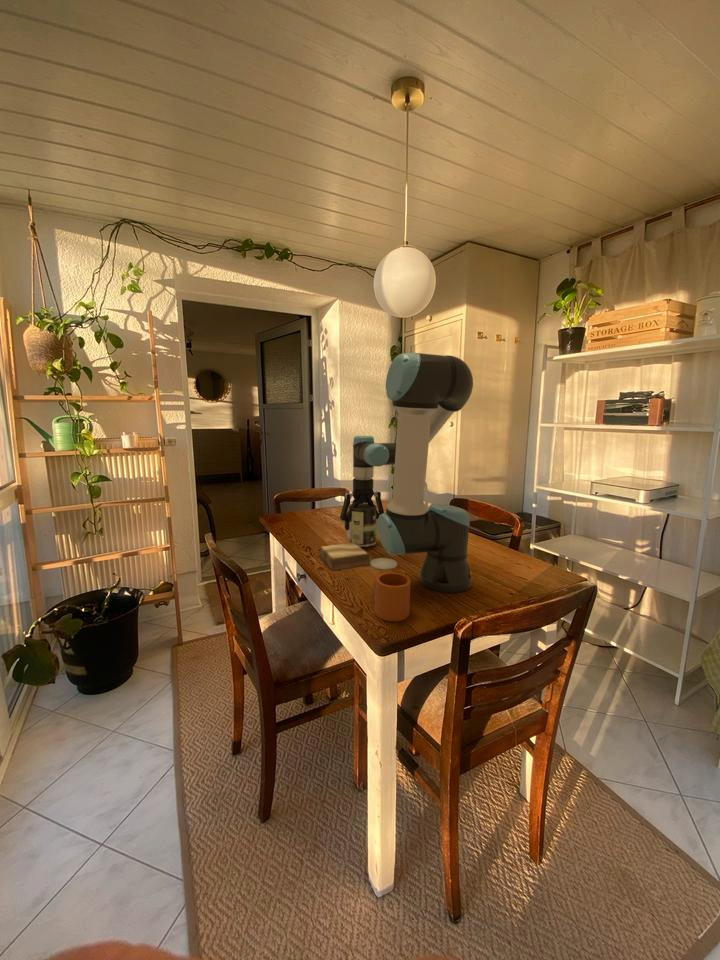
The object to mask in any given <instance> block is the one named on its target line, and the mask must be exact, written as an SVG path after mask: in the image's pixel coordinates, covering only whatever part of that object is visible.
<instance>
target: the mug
mask: <svg viewBox="0 0 720 960" xmlns="http://www.w3.org/2000/svg"><path fill="white" fill-rule="evenodd" d="M411 583H412V580H411V578H410V577H409V576H408V575H406V574H403V573H401V572H394V571H393V572H391V571H389V572H383V573H378V574H377V575H376V576H375V578H374V580H373V594H374V614H375V616H376V617H378V618H379V619H380V620H382V621H388V622H400V621H404V620H406V619H407V618H409V616H410V606H411V605H410V603H411V586H412V584H411Z"/></svg>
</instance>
